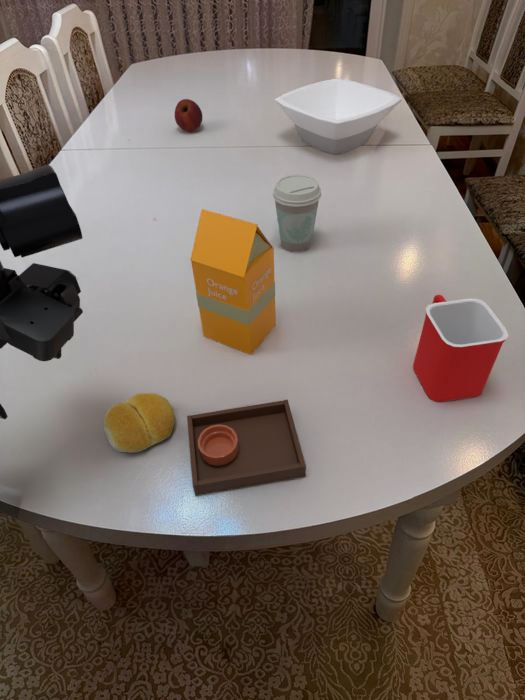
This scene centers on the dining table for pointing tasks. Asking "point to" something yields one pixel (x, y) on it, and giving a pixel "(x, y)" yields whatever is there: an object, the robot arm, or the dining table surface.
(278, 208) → the coffee cup
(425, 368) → the mug
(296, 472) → the serving tray
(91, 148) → the dining table surface
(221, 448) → the side dish
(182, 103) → the apple
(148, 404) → the bread roll
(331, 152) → the bowl
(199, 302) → the orange juice
